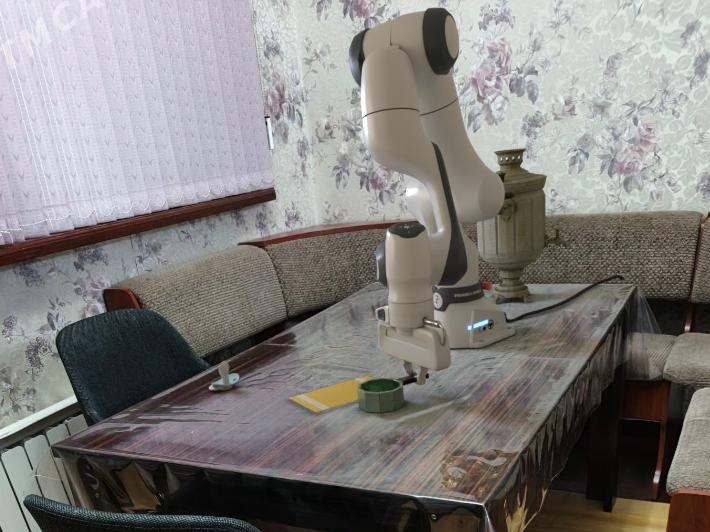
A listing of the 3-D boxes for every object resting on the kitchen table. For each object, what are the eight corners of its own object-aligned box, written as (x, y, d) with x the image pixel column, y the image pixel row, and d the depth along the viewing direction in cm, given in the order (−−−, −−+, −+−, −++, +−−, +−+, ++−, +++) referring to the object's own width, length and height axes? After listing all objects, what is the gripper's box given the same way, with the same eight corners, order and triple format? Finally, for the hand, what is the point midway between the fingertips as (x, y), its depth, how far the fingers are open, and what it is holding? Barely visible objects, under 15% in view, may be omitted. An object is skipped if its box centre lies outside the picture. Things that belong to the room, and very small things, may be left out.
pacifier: (203, 392, 161) (224, 394, 158) (197, 365, 158) (218, 366, 155) (223, 382, 166) (244, 383, 163) (217, 356, 163) (238, 356, 160)
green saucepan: (413, 386, 151) (412, 367, 149) (440, 397, 144) (440, 377, 142) (350, 405, 144) (348, 385, 142) (375, 417, 137) (374, 396, 135)
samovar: (542, 314, 195) (547, 151, 175) (457, 309, 208) (453, 156, 188) (577, 290, 217) (586, 142, 196) (498, 287, 229) (499, 147, 209)
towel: (367, 377, 160) (366, 375, 160) (397, 389, 151) (397, 387, 151) (289, 400, 151) (288, 397, 151) (316, 414, 142) (316, 412, 142)
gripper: (457, 319, 132) (459, 390, 139) (395, 303, 147) (400, 368, 154) (430, 326, 129) (433, 398, 136) (370, 309, 144) (375, 375, 151)
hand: (415, 382), depth 145 cm, fingers closed on green saucepan, 2 cm apart
